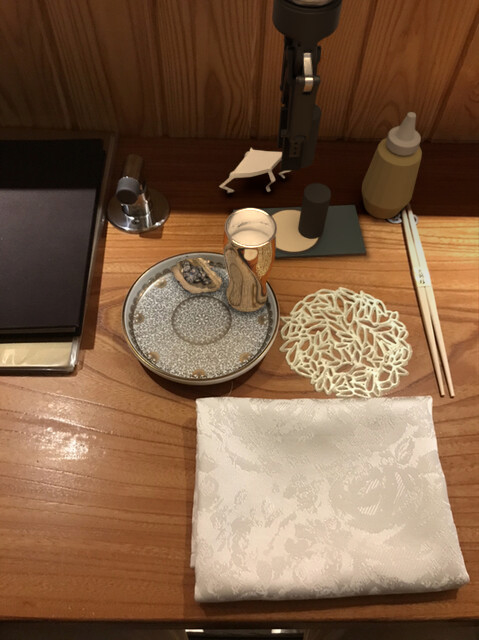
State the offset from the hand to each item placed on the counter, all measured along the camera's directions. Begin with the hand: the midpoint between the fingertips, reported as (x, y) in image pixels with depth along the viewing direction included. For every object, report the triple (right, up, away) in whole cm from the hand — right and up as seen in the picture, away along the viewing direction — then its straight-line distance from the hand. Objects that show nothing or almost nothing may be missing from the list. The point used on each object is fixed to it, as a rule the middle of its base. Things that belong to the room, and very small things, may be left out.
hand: (288, 157), depth 80 cm
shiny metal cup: (-6, -20, +3) cm, 21 cm away
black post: (+2, 0, 0) cm, 2 cm away
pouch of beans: (-13, -17, +4) cm, 22 cm away
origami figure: (-5, 0, +15) cm, 16 cm away
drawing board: (+2, -9, +9) cm, 13 cm away
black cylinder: (+4, -9, +9) cm, 13 cm away
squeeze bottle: (+16, -5, +13) cm, 21 cm away
